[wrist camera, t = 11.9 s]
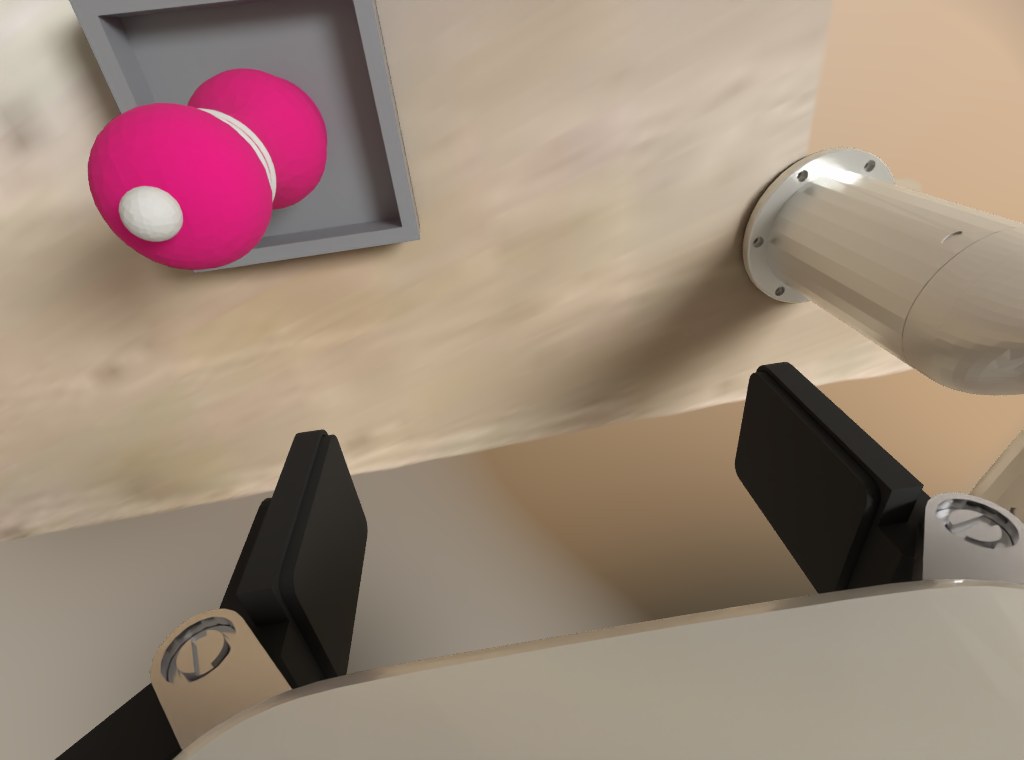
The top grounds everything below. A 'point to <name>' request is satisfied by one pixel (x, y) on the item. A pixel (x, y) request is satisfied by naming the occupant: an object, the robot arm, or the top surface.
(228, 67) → the tray
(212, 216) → the pepper mill
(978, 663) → the robot arm
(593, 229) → the top surface
